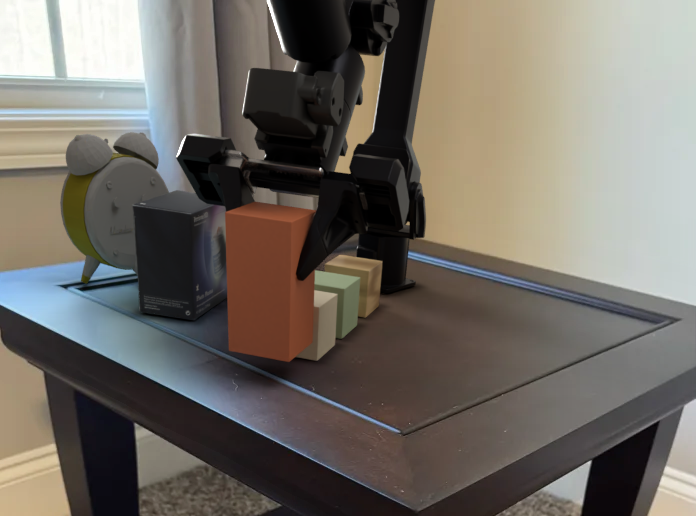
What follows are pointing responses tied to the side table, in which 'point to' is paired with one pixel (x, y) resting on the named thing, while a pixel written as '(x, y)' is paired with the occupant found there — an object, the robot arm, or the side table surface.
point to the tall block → (268, 281)
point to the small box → (180, 255)
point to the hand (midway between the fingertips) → (264, 272)
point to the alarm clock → (107, 197)
